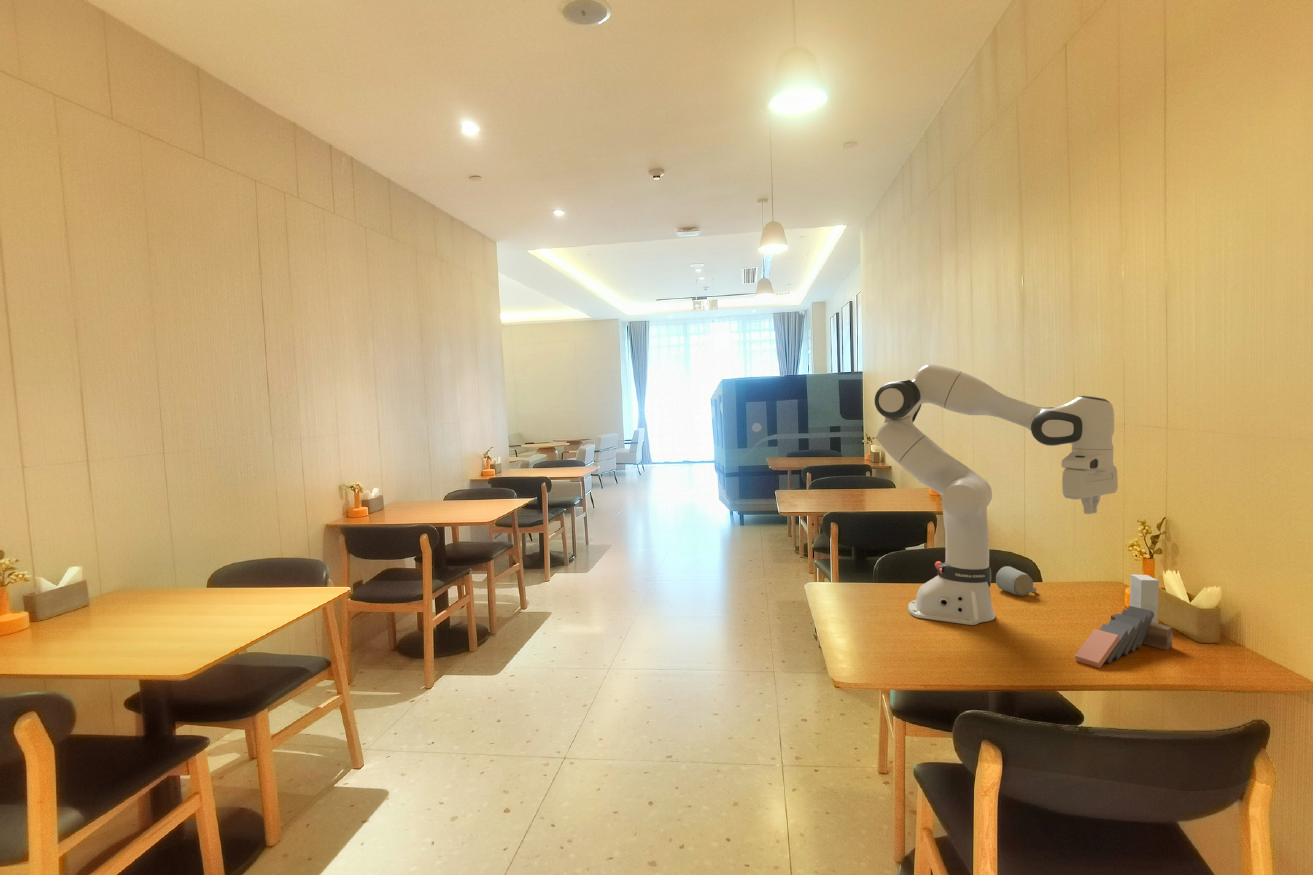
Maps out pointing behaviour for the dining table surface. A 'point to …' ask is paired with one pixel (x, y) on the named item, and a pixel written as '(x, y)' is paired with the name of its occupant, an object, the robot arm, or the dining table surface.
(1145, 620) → the domino
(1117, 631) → the domino
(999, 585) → the ceramic mug
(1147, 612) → the domino
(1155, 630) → the end stop
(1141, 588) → the skincare box
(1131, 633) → the domino
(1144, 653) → the dining table surface
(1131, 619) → the domino
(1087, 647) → the domino
